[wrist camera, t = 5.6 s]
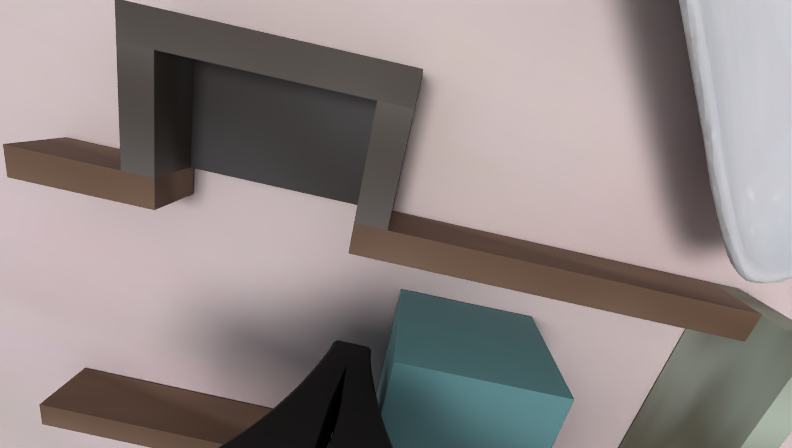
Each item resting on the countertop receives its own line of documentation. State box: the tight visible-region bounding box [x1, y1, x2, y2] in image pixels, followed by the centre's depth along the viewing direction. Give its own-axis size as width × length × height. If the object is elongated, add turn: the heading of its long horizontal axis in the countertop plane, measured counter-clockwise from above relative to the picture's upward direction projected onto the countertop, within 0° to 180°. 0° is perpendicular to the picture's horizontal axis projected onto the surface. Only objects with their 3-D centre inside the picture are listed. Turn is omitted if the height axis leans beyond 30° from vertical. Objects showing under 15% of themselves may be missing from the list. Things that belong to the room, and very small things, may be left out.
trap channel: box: [3, 0, 792, 448], centre depth 13 cm, size 20×24×4 cm
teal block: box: [376, 290, 574, 448], centre depth 13 cm, size 5×5×4 cm
